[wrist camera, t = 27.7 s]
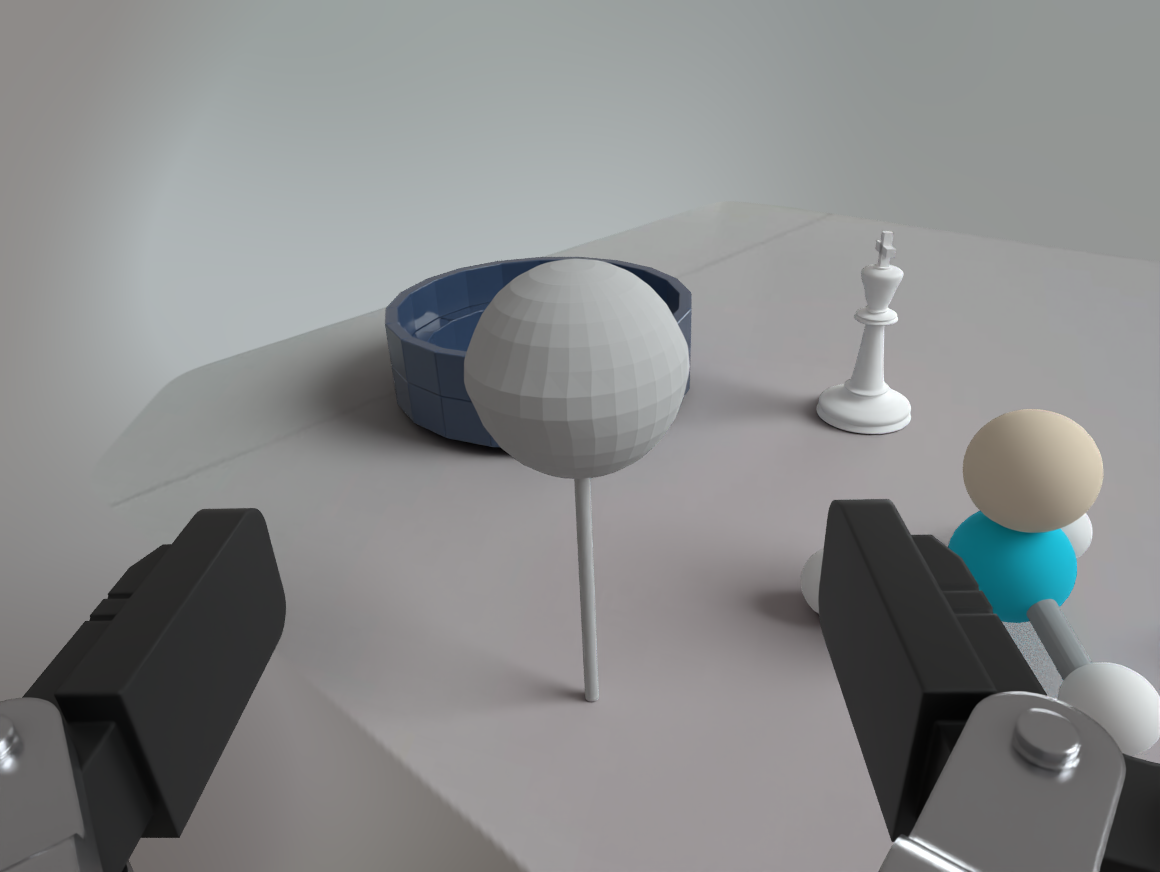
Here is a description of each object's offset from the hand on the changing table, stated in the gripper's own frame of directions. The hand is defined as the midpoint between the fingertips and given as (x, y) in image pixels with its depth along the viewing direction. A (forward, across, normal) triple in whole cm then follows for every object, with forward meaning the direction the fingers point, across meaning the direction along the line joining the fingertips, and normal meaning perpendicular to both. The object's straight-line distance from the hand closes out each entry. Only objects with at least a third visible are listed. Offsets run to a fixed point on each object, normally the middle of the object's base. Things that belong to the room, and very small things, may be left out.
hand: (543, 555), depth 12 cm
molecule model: (+14, -14, +14) cm, 24 cm away
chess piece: (+32, -15, +14) cm, 38 cm away
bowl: (+36, +3, +14) cm, 39 cm away
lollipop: (+11, 0, +14) cm, 18 cm away
